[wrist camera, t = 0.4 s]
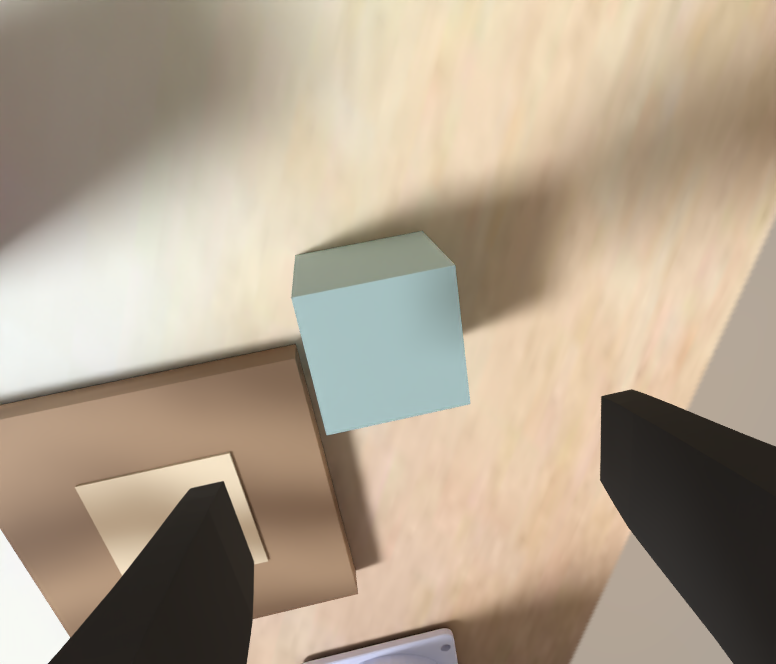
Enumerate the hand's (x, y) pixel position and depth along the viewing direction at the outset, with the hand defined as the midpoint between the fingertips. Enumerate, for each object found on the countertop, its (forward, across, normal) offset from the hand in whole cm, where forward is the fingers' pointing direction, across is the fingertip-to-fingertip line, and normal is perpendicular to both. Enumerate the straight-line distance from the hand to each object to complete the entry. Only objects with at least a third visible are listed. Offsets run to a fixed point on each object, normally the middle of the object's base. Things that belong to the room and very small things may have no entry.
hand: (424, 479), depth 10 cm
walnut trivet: (+10, +9, +7) cm, 15 cm away
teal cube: (+10, 0, 0) cm, 10 cm away
